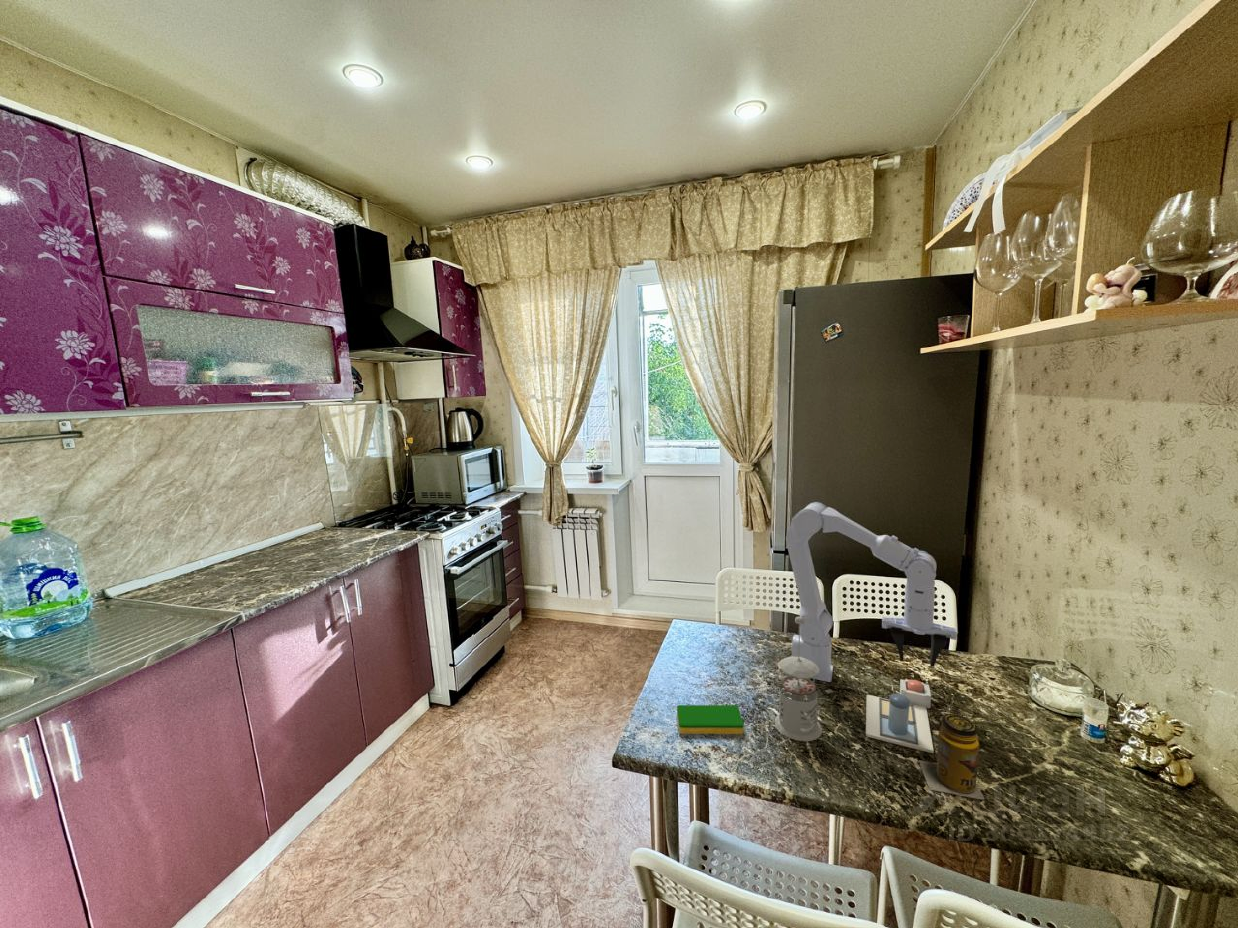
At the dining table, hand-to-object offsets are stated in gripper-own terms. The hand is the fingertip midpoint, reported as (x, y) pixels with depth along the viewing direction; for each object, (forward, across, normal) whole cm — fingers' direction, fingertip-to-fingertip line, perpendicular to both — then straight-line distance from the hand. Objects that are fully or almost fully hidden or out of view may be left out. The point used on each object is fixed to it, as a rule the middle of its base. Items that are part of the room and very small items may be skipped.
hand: (916, 661), depth 113 cm
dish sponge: (+10, -41, -28) cm, 51 cm away
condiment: (+10, +4, -25) cm, 27 cm away
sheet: (+9, -4, -11) cm, 15 cm away
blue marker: (+9, -4, -14) cm, 17 cm away
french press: (+10, -23, -20) cm, 32 cm away
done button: (+9, 0, 0) cm, 9 cm away
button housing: (+9, 0, 0) cm, 9 cm away
